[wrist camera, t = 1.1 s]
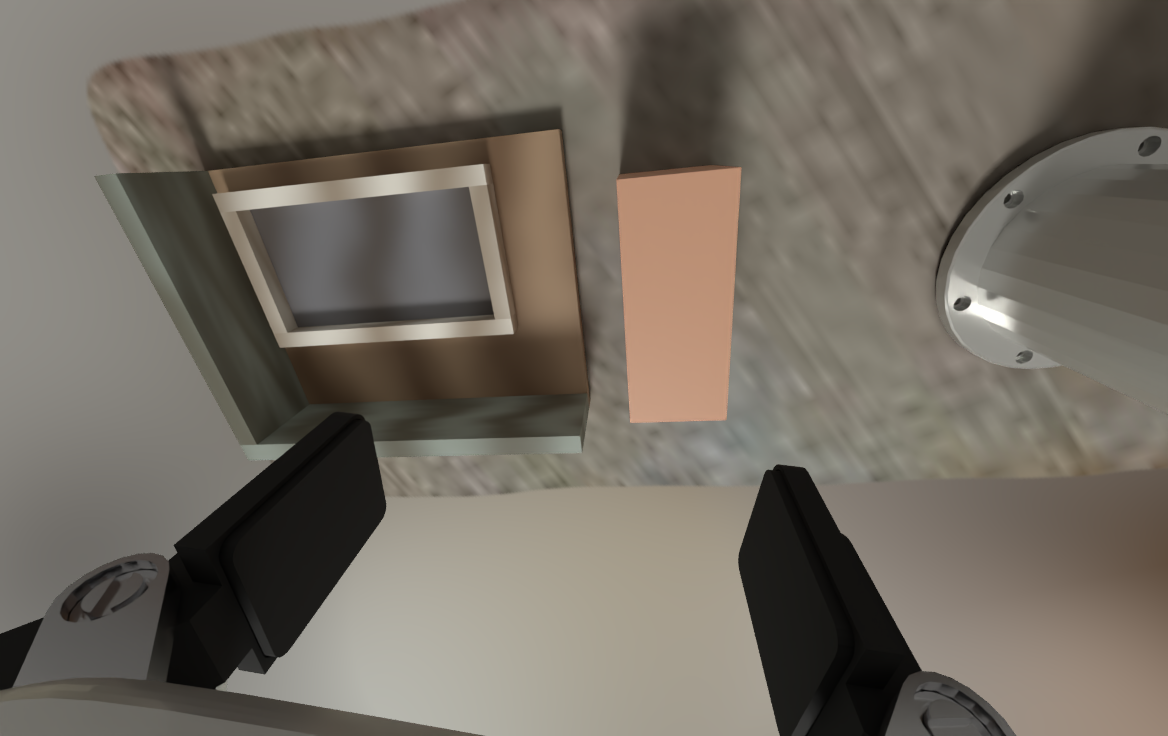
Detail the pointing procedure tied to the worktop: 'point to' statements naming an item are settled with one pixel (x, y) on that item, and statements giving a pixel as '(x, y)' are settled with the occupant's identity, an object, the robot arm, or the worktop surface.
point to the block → (678, 289)
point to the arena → (377, 293)
